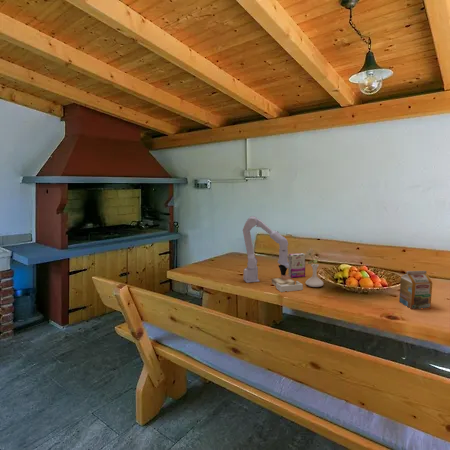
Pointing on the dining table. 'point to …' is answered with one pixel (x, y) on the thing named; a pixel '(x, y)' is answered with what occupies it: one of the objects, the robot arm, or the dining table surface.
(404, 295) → the milk carton
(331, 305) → the dining table surface
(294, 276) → the candy bar box
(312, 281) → the flower in vase
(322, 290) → the dining table surface
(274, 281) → the birch board
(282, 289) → the tray
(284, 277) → the terracotta tile
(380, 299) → the dining table surface
